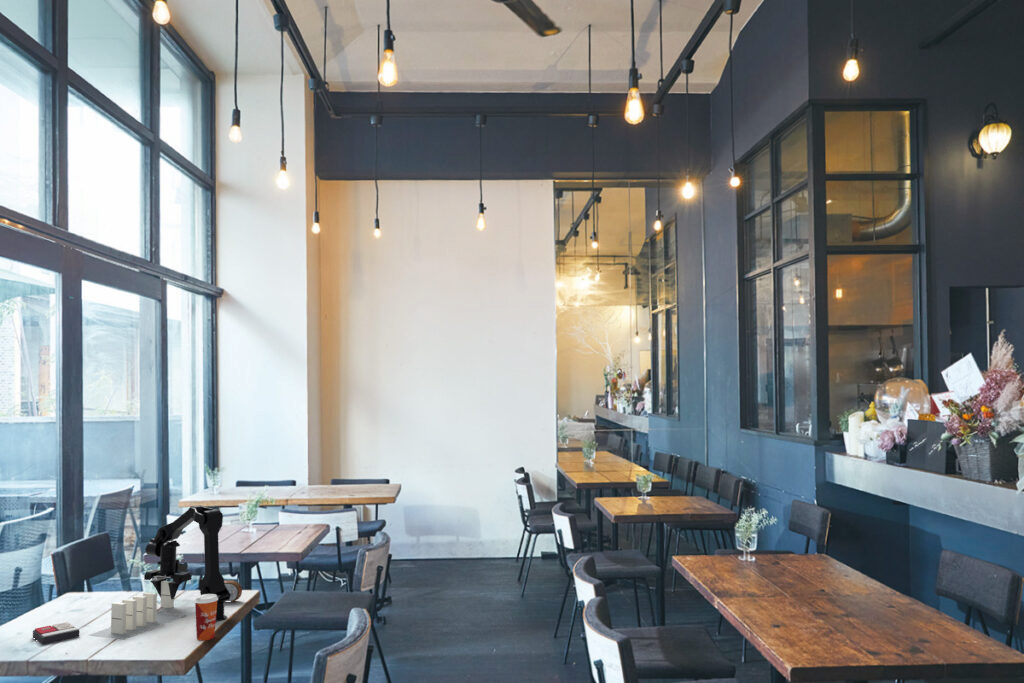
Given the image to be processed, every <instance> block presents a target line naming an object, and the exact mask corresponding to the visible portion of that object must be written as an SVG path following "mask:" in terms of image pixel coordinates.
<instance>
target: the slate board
mask: <svg viewBox="0 0 1024 683" xmlns="http://www.w3.org/2000/svg"><path fill="white" fill-rule="evenodd" d="M184 617H186V615H184V614H175V613H165V612H157V614H156V622H146V625H145V626H136V629H134V630H127V629H126V633H123V634H117V633H111V626H110V627H108V628H104V629H101V630H99V631H96V632H93V633H90V634H89V636H91V637H100V638H106V639H107V638H109V639H114V640H115V639H116V640H124V641H125V640H127V639H130V638H131V637H134V636H137V635H139V634H142V633H146V632H147V631H150V630H152V629H155V628H157V627H160V626H163V625H165V624H168V623H171V622H174V621H176V620H178V619H181V618H184Z"/></svg>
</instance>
